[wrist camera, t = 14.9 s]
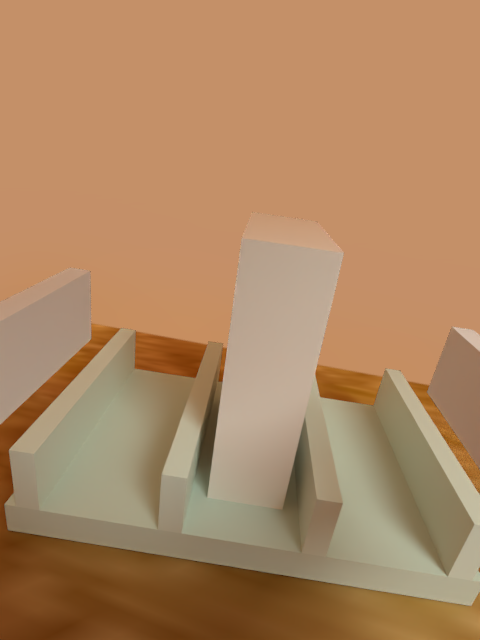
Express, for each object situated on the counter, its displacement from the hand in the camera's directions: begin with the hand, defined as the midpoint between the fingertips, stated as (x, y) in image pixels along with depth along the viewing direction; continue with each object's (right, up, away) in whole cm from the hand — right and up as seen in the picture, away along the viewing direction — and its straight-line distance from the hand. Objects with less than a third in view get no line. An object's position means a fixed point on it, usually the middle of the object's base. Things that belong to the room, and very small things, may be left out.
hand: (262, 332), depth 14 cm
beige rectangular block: (0, -7, +7) cm, 10 cm away
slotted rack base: (-1, -8, +8) cm, 11 cm away
